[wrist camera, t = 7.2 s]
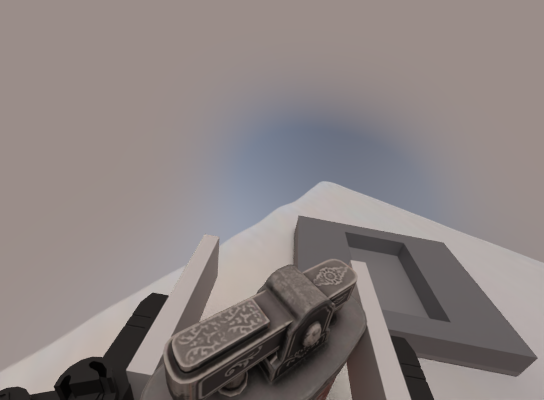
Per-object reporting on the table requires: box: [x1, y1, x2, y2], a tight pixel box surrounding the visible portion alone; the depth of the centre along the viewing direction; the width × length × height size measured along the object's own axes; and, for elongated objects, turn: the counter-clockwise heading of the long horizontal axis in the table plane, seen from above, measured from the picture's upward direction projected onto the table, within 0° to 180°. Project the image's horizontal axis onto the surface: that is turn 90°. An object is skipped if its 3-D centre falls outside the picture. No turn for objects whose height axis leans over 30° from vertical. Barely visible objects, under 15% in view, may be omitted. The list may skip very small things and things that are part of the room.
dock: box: [294, 216, 537, 376], centre depth 26 cm, size 18×14×2 cm
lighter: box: [140, 259, 367, 400], centre depth 9 cm, size 8×3×10 cm, turn 126°
